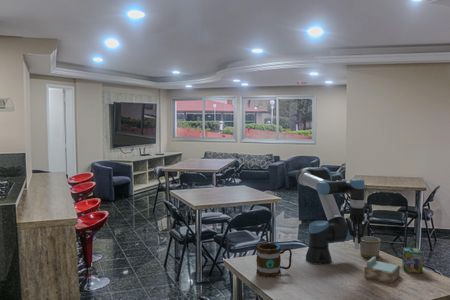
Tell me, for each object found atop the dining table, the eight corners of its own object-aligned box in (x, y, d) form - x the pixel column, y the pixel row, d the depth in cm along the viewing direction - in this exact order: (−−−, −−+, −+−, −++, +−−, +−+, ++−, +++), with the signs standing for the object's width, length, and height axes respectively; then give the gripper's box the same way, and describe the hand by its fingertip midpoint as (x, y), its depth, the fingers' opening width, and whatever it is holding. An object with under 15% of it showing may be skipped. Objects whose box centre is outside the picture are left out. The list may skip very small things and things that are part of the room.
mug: (257, 277, 207) (256, 250, 206) (255, 268, 221) (255, 242, 220) (293, 277, 207) (293, 250, 206) (290, 268, 220) (290, 242, 219)
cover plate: (366, 269, 207) (366, 261, 207) (373, 263, 216) (373, 256, 216) (391, 275, 199) (391, 267, 199) (398, 268, 208) (398, 261, 208)
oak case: (364, 277, 207) (364, 267, 207) (373, 269, 218) (373, 260, 217) (391, 283, 198) (391, 273, 198) (399, 275, 209) (399, 265, 208)
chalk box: (422, 273, 211) (423, 247, 210) (404, 272, 214) (404, 245, 213) (419, 267, 220) (419, 242, 219) (401, 266, 223) (402, 241, 222)
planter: (357, 251, 249) (357, 235, 248) (377, 252, 247) (377, 236, 246) (361, 258, 236) (361, 241, 236) (382, 259, 235) (383, 242, 234)
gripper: (343, 206, 216) (342, 248, 217) (366, 209, 207) (366, 252, 209) (348, 204, 222) (348, 245, 223) (371, 207, 213) (371, 249, 214)
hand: (356, 248), depth 216 cm, fingers closed
